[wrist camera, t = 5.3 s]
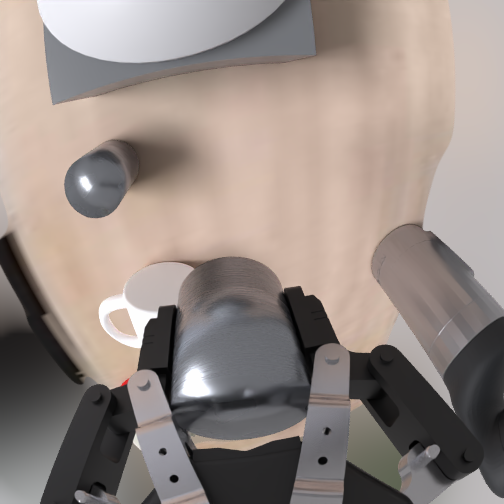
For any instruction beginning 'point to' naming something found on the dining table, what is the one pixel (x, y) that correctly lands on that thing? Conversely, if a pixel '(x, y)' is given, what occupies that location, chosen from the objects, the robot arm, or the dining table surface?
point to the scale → (165, 39)
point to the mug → (144, 298)
